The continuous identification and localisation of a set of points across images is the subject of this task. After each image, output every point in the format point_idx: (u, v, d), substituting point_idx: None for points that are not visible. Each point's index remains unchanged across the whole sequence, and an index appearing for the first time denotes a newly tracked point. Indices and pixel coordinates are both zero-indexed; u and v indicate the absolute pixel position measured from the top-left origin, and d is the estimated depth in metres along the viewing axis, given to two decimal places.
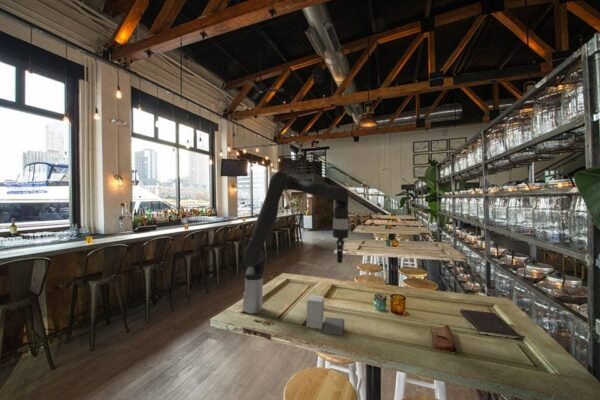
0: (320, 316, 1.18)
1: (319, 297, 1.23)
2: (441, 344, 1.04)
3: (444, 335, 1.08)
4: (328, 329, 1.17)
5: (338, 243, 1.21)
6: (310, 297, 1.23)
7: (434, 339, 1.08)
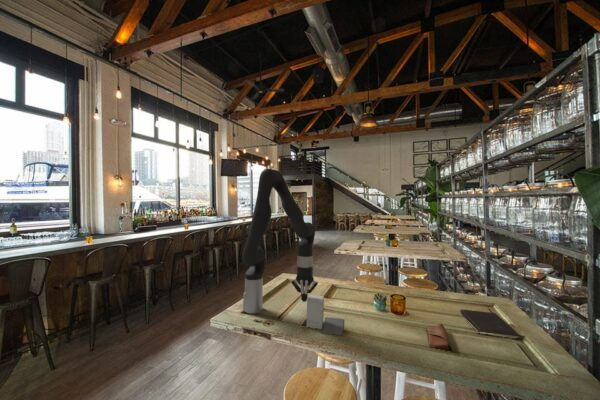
0: (320, 316, 1.18)
1: (319, 297, 1.23)
2: (436, 343, 1.05)
3: (439, 334, 1.08)
4: (328, 329, 1.17)
5: (316, 285, 1.21)
6: (310, 297, 1.23)
7: (430, 338, 1.08)
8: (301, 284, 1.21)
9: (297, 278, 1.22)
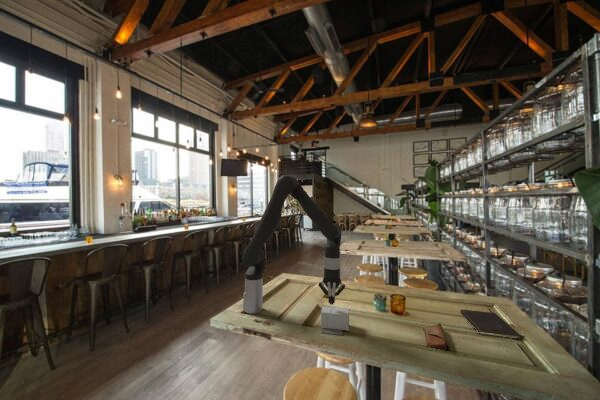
0: (333, 327, 1.17)
1: None
2: (434, 342, 1.05)
3: (437, 333, 1.09)
4: (328, 329, 1.17)
5: (344, 287, 1.18)
6: None
7: (427, 338, 1.09)
8: (328, 286, 1.19)
9: (324, 280, 1.20)
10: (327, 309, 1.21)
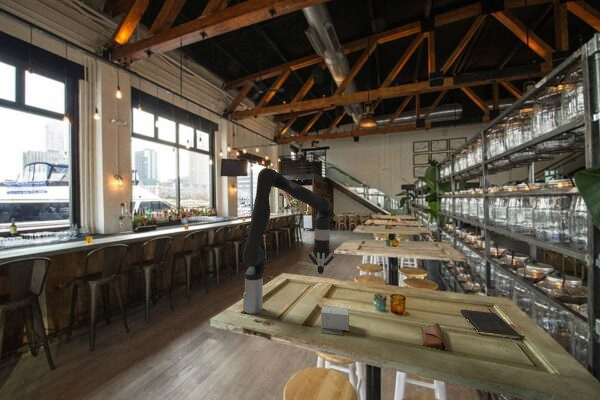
0: (333, 327, 1.17)
1: None
2: (430, 341, 1.06)
3: (433, 333, 1.09)
4: (328, 329, 1.17)
5: None
6: None
7: (424, 337, 1.09)
8: (318, 256, 1.25)
9: (314, 251, 1.26)
10: (327, 309, 1.21)
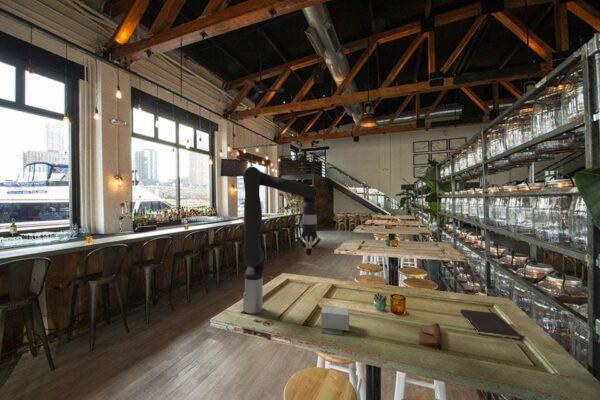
0: (333, 327, 1.17)
1: None
2: (426, 340, 1.06)
3: (431, 332, 1.10)
4: (328, 329, 1.17)
5: None
6: None
7: (421, 336, 1.10)
8: (306, 240, 1.37)
9: (302, 235, 1.38)
10: (327, 309, 1.21)
